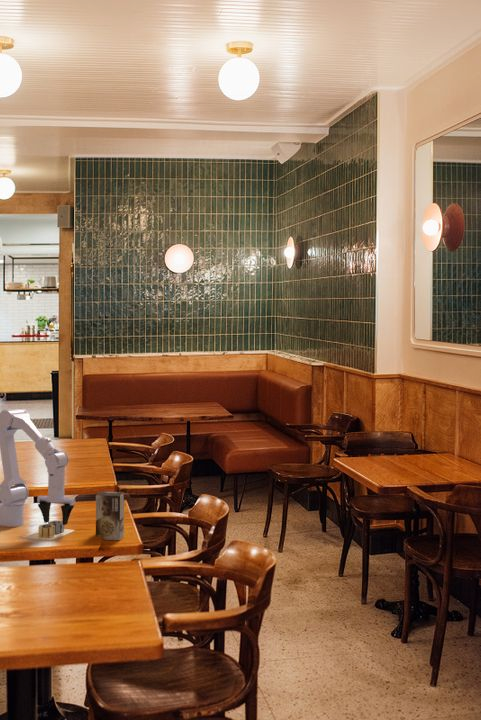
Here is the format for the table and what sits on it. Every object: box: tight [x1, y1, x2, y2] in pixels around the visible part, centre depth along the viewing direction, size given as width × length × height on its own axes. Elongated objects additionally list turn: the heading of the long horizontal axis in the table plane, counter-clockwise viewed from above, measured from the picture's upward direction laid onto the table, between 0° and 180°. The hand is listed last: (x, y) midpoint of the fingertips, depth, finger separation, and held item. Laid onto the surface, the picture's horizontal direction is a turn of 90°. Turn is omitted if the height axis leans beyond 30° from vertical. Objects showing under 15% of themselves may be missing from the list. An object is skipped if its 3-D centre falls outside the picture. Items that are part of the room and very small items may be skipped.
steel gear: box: [47, 520, 65, 534], centre depth 295 cm, size 6×6×3 cm
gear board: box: [22, 520, 76, 542], centre depth 292 cm, size 12×16×5 cm
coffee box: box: [95, 490, 125, 541], centre depth 293 cm, size 9×6×16 cm
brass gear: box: [38, 524, 55, 538], centre depth 289 cm, size 6×6×3 cm
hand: (55, 523), depth 294 cm, fingers open, 7 cm apart
